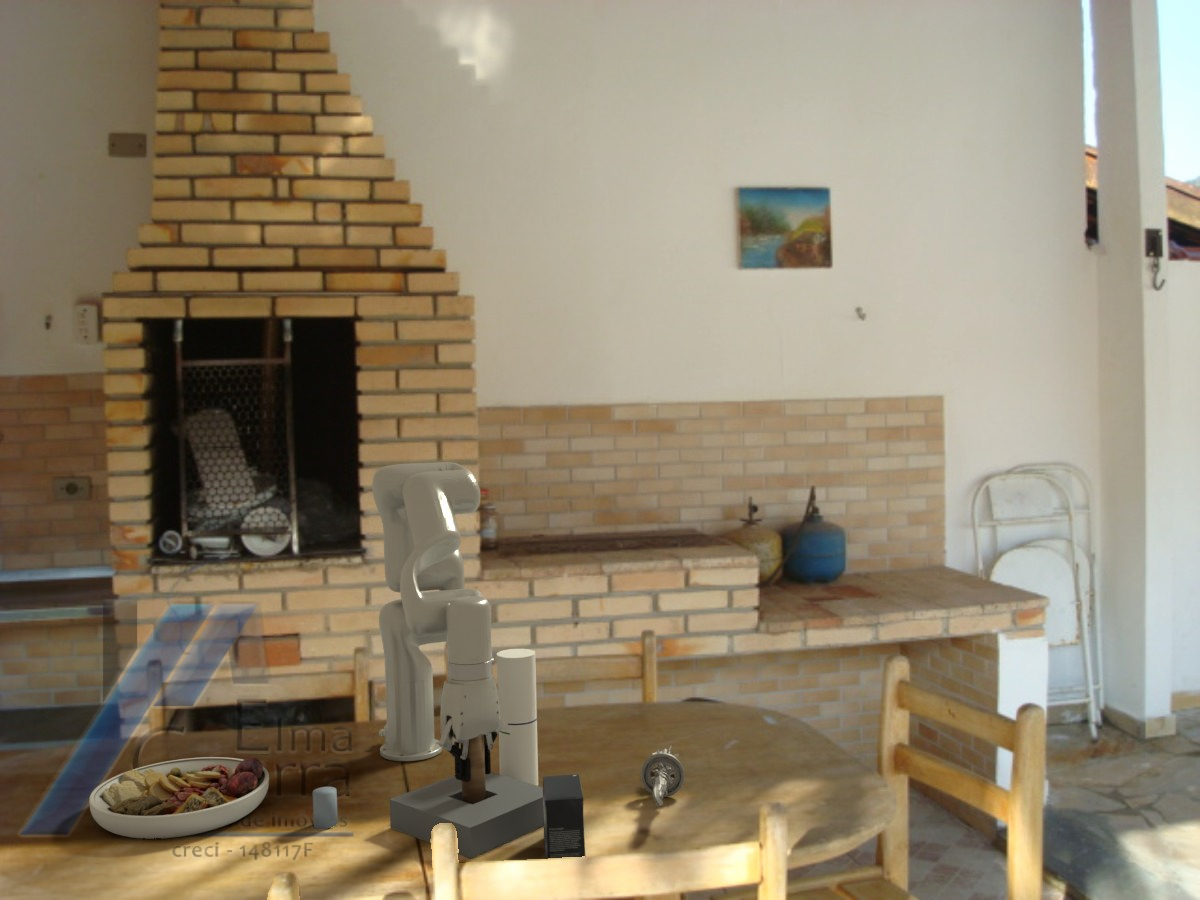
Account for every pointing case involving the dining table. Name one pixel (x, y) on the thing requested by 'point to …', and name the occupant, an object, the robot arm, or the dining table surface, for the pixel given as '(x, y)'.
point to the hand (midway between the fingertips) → (473, 775)
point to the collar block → (471, 812)
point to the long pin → (475, 772)
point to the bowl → (179, 797)
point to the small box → (563, 816)
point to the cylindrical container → (518, 714)
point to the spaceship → (662, 775)
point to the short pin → (325, 807)
